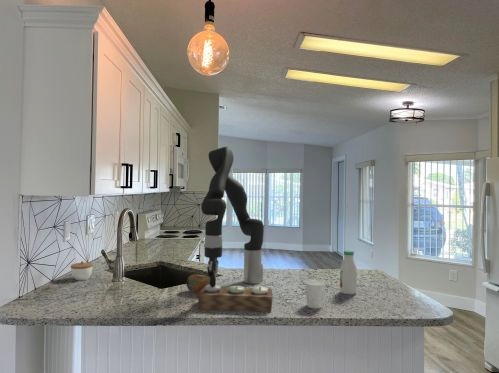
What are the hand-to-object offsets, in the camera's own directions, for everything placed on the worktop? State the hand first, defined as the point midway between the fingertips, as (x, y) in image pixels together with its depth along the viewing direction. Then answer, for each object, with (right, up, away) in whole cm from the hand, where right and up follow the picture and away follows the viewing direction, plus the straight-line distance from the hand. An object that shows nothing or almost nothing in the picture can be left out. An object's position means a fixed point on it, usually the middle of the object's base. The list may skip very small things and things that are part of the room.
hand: (212, 285), depth 156 cm
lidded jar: (-74, -7, +40) cm, 84 cm away
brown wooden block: (+10, -8, -1) cm, 13 cm away
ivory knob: (+20, -6, -2) cm, 21 cm away
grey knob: (0, -5, 0) cm, 5 cm away
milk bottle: (+63, -9, +20) cm, 67 cm away
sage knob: (+10, -6, -1) cm, 12 cm away
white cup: (+43, -9, -1) cm, 44 cm away
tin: (-7, -8, +17) cm, 20 cm away
